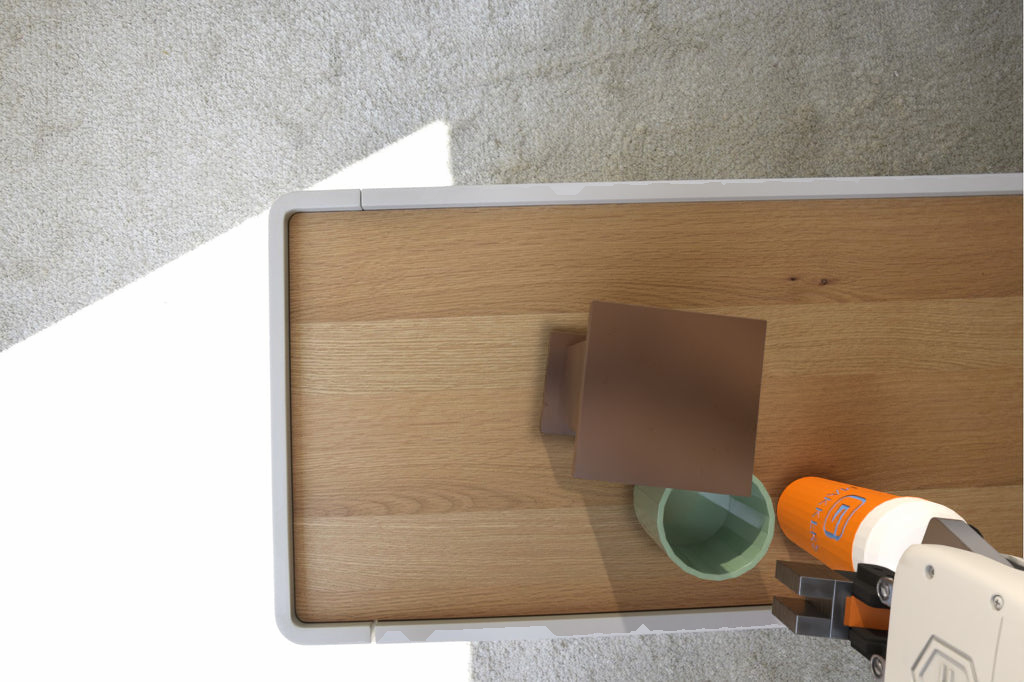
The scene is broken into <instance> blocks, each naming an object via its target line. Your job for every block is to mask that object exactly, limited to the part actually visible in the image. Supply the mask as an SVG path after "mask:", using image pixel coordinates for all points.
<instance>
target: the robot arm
mask: <svg viewBox="0 0 1024 682" xmlns="http://www.w3.org/2000/svg"><path fill="white" fill-rule="evenodd" d="M965 522H966V521H965ZM965 522H964V521H962V520H957V519H948V518H939V517H933V518H931V519H930V521H929V523H928V526H927V529H926V532H925V534H924V537H923V540H922V543H921V544H913V545H911V546H909V547H908V548H907V549H906V550H905V551H904V553H903V554H902V556H901V558H900V560H899V563H898V565H897V568H896V572H894V571H892V570H890V569H888V568H886V567H883V566H879V565H874V564H866V563H858V564H857V572H853V571H844V570H834V571H835V572H837V573H839V574H840V575H842V576H844V577H845V578H847V579H849V580H850V581H852V582H853V592H852V593H853V594H852V595H854V597H855V598H857V599H858V600H860V601H861V602H863V603H864V604H866V605H868V606H870V607H873V608H881V609H890V620H889V630H881V629H871V628H862V627H853V626H852V627H849V637H848V640H847V641H849V642H850V643H849V644H850V647H851V648H852V649H854V650H855V651H856V652H857V653H858V654H860V655H861V656H862V657H864V658H865V659H866V660H868V661H869V669H870V673H871V676H872V678H873V679H874V680H875V681H876V682H1024V558H1022V557H1020V556H1015V555H1012V554H1008V553H1001V552H999V551H998V550H997V549H995V548H994V547H993V546H992V545H991V544H990V543H989V542H988V541H986V539H985V538H984V537H983V538H984V539H983V538H982V537H981V536H980V535H979V534H978V533H976V532H975V531H974V530H973V529H972V528H971V527H970V526H969V525H968V524H969V523H967V522H966V523H965Z"/></svg>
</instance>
